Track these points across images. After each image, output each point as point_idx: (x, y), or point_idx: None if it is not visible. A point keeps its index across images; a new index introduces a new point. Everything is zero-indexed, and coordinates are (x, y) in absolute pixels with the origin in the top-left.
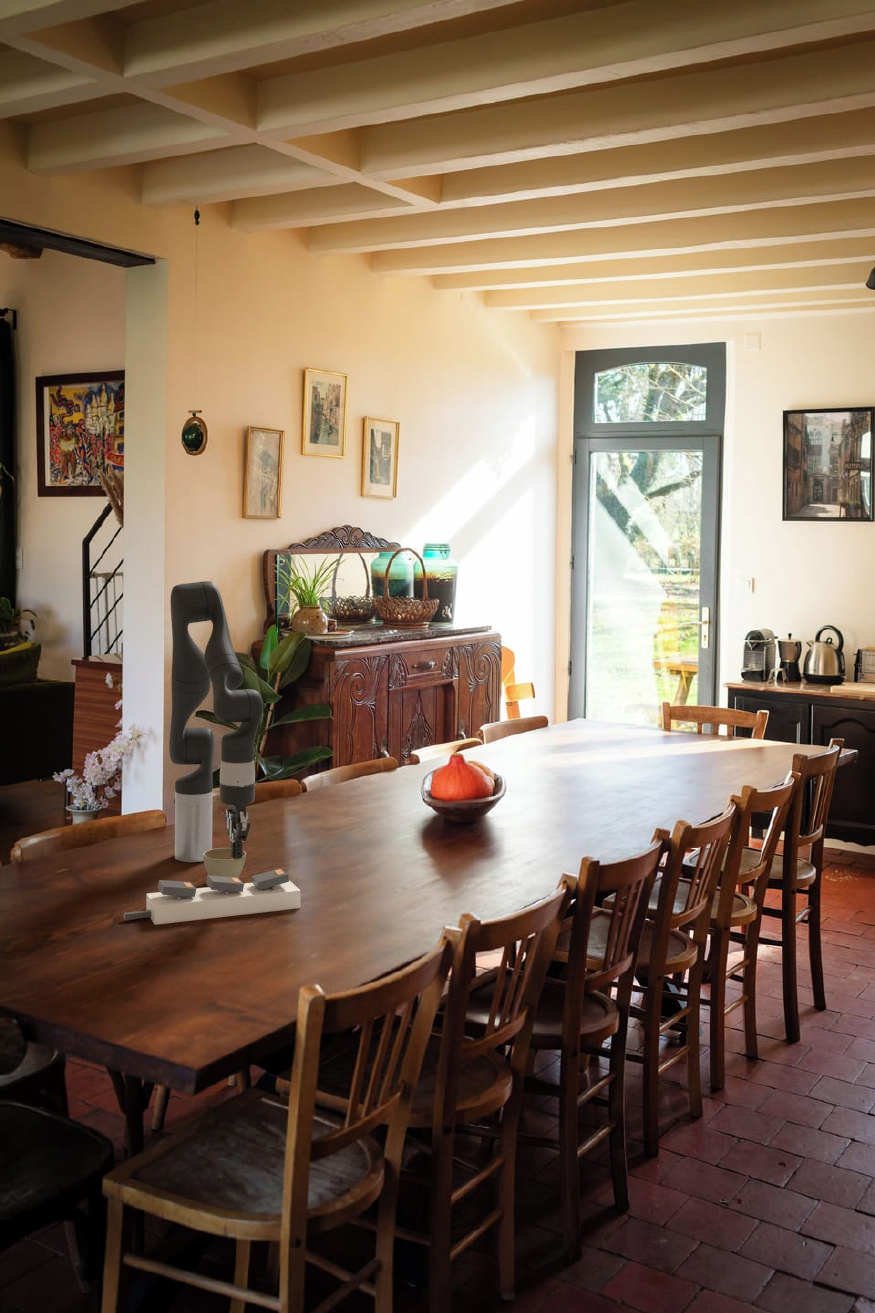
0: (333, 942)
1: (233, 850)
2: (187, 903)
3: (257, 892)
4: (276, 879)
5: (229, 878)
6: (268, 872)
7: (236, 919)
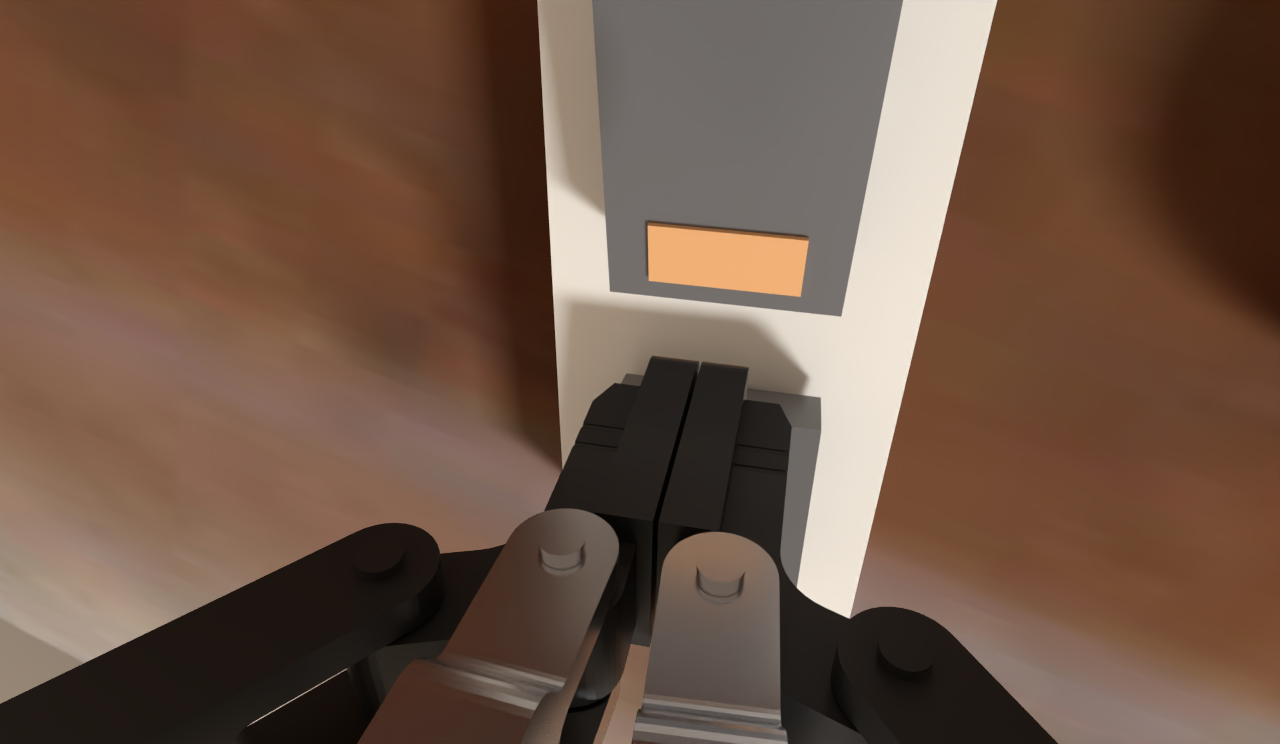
0: (56, 411)
1: (628, 433)
2: None
3: (620, 351)
4: None
5: (787, 216)
6: None
7: (500, 73)
